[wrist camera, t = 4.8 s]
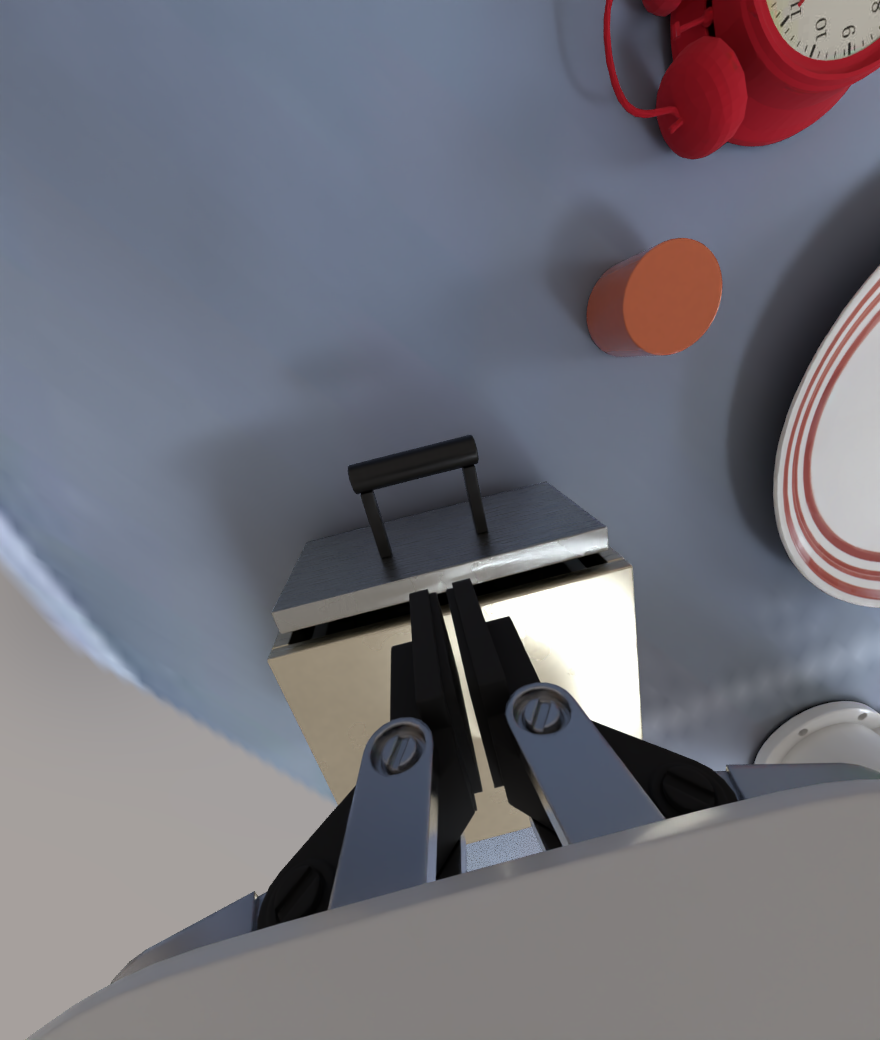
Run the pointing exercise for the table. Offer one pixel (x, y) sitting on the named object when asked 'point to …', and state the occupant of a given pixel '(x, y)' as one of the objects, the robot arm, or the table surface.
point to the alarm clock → (754, 67)
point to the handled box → (433, 545)
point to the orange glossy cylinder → (656, 300)
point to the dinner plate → (836, 458)
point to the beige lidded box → (546, 638)
